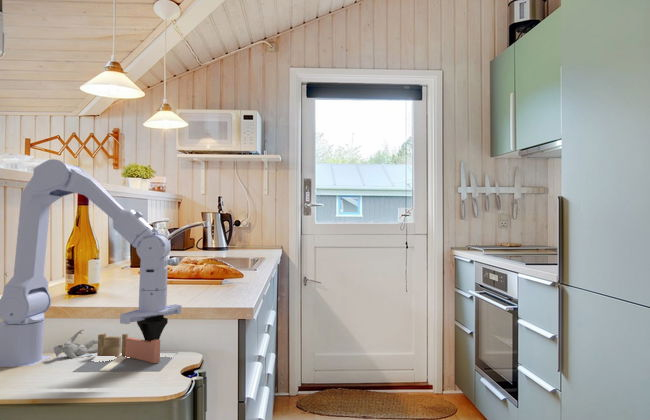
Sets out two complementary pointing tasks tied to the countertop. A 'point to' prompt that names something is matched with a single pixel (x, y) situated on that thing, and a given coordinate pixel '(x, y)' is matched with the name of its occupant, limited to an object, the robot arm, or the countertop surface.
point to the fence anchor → (111, 345)
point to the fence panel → (143, 349)
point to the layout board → (124, 365)
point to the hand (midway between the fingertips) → (151, 351)
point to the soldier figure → (76, 347)
